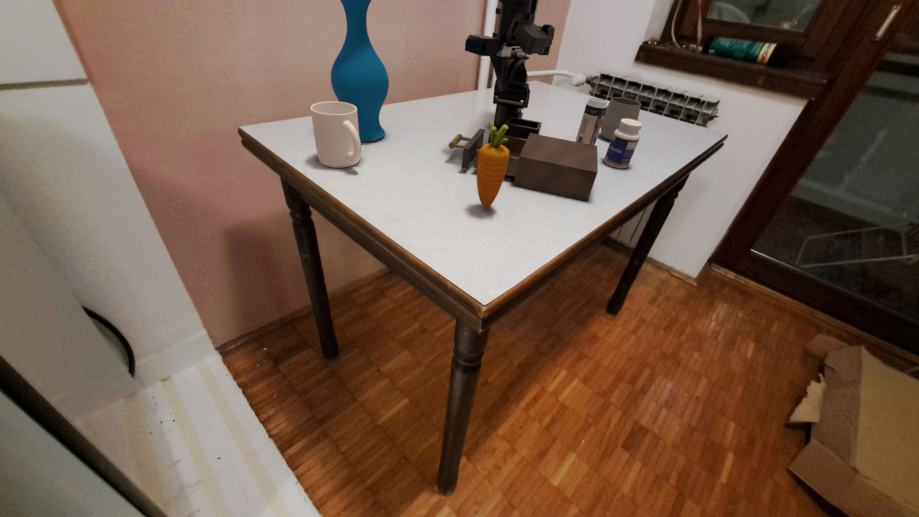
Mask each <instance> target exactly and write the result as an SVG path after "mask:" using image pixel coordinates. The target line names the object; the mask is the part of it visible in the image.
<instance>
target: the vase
mask: <svg viewBox="0 0 919 517" xmlns="http://www.w3.org/2000/svg"><path fill="white" fill-rule="evenodd" d="M339 1H340V3H341V5H342V7H343V10H344V13H345V20H346V21H345V22H346V32H345V39H344V42H343V44H342V47H341V49H340V51H339V52H338V55H337V56H336V58H335V59H334V61H333V64H332V67H331V71H330V83H331V87H332V91H333V93H334V95H335V97H336V99H337V100H338V102H345V103H349V104H352V105H354V106H356V107H357V114H358V128H359V138H360V142H362V143H363V142H365V143H366V142H375V141H379V140H381V139H382V138H384V137H385V135H386V132H385V129H384V128H383V126H382V125H381V123H380V114H381V110H382V107H383V105H384V104H385V101H386V98H387V96H388V93H389V88H390V80H389V74H388V72H387V69H386V67H385V65H384V63H383V61H382V60H381V58H380V57H379V55H378V54H377V52H376V50H375V48H374V46H373V44H372V42H371V39H370V37H369V33H368V32H369V31H368V27H367V26H368V25H367V20H368V18H367V17H368V16H367V15H368V10H369V6H370V5H371V2H372V0H339Z"/></svg>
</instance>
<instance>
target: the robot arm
mask: <svg viewBox="0 0 919 517" xmlns="http://www.w3.org/2000/svg"><path fill="white" fill-rule="evenodd" d="M498 1H499V2H500V7H495V12H494V13H495V15H498V23H497V30H496V32H495V31H493V32H492V36H489V35H485V34H469V35H468V36H467V38H466V39H465V43H464V45H465V46H464V51H465V52H468V53H471V54H474V55H476V56H477V55H478V56H480V57H489V59H490V61H491V62H490V63H491V65H492V67H493V70H494V74H495V81H494V87H493V96H492V97H493V98H492V104H493V105H495V112H494V119H493V123H494V127H496V130H498V131H499V130H500V129H501V127H502V126H503V125H505V122H506V121H507V119H508V118H509V117H515V118H521V119H523V115H524V113H523V112H522V111H523V110H525V109H528V108H529V104H530V103H529V102H530V98H531V89H530V83H528V82H529V76H528V71H527V67H526V62H527V61H529V59H530V56H532V55H537V56H549V54H550V50H551V46H552V45H553V40H554V37H555V32H556V28H555V26H553V25H552V24H548V23H545V24H543V25H542V26H541V25H537V24H536V23H535V20H536V16H537V12H538V8H539V3H540V0H498Z"/></svg>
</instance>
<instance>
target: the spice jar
mask: <svg viewBox="0 0 919 517" xmlns="http://www.w3.org/2000/svg"><path fill="white" fill-rule="evenodd" d="M607 106H608V102H607V101H606V100H605V99H602V98H596V97H590V98H589V99H588V100H587V101H586V104H585V106H584V107H585V108H584V111H583V114H582V117H581V120H580V125H579V127H578V131H577V134H576V137H575V141H574V142H579V143H585V144H590V145H595V146H596V142H597V139H598V136H599V133H600V131H601V124H602V121H603V118H604V115H605V112H606V109H607Z"/></svg>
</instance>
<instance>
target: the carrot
mask: <svg viewBox="0 0 919 517" xmlns="http://www.w3.org/2000/svg"><path fill="white" fill-rule="evenodd" d="M488 124H489V132H491V134H490V135H491V143H488V142H486V143H484V144H483V146H482V148H481V149H480V151H479V157H478V167H477V168H476V188H477V194H478V198H479V202H480V204H481V206H482V208H483V209H485V210H487V209H489V208H490V206H492V204H493V203H494V201H495V199H497V196H498V195H499V192H500V190H501V187H502V185H503V182H504V180H505V177H506V175H505V173H506V169H507V164H508V160H509V154H510V153H509V150H508V148H506V147H505V146H503V145H502V144H503V143H504V142H506V141H507V140H508V139H507V138H503V139H502V140H501V137H502V136H503V135H504V134H505V132H506V131H507V129H508V126H507V125H503V126H502V127H501V129H500V130H499V129H498V132H497V129H496V127H494V120H492V121H489V122H488ZM496 132H497V133H496ZM495 133H496V134H497V135H496V138H495Z"/></svg>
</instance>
